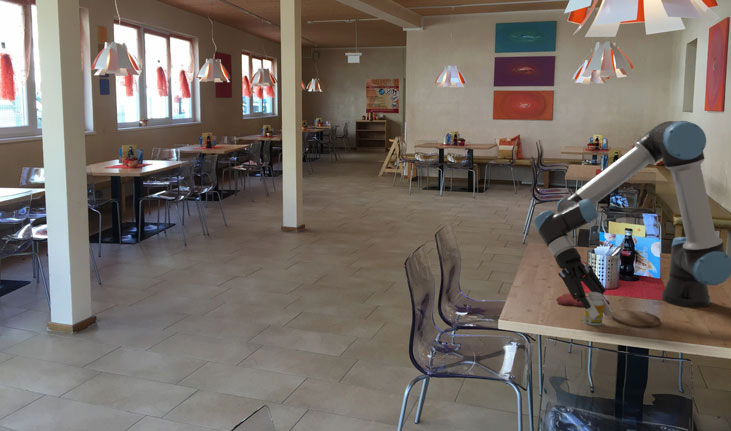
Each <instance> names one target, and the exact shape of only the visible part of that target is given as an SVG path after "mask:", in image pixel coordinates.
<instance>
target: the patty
mask: <svg viewBox="0 0 731 431" xmlns="http://www.w3.org/2000/svg"><path fill="white" fill-rule="evenodd" d="M586 297H588V295H586ZM606 300H607V302H608V305H610V301H609V300H608V299H606ZM556 302H557V304H558V305H559V306H563V307H573V308H584V306H583V304H582V302H581V301H580V302H578V301H577V299H576V300H574V299H573V297H572V295H571V294H570V293H564V294H562V295H560V296H558V297H557V298H556Z"/></svg>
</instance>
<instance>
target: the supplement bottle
mask: <svg viewBox="0 0 731 431" xmlns="http://www.w3.org/2000/svg"><path fill="white" fill-rule="evenodd" d="M587 296H589V298H590V300H591V301H592V303H593V305H594V306H595V308H596V309H597V311H598V313H599V314H600V315H599V316H597V317H596V318H595V319H592V318H591V316H590V314H589V313H588V311H587V309H585V308H584V313H583V314H584V315H583V323H585V325H588V326H595V327H596V326H601V325H602V324H603V315H604V313H603V306H604V303H603V301H602V300H601V299H602V294H601V293H598V292H591V291H590V292H588V295H587Z"/></svg>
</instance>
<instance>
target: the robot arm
mask: <svg viewBox="0 0 731 431" xmlns="http://www.w3.org/2000/svg"><path fill="white" fill-rule="evenodd" d="M706 145H707V136H706V134H705V132H704V130H703V129H702V128H701V127H700V125H698V124H696V123H694V122H690V121H687V120H678V121H677V120H676V121H672V120H669V121H664V122H661V123H659V124H657V125H656V126H654V127H653V128H652V129H651V130H649V131H648V132H647V133H645V134H644V135H643V136H642V137H640V138H639V139H638V140H636V141H635V142H634V147H632V148H631V149H629V151H627V152H626V153H624V154H623V155H622V156H621V157H619V158H618V159H617V160H615V161H614V162H612V163H611V164H610V165H608V166H607V167H606V168H605V169H603V170H602V171H601V172H600V173H598V174H597V175H596V176H594V177H593V178H592V179H590V180H589V181H588V182H586V183H585V184H584V185H582V186H580V187H579V189H577V190H575V192H574V193H572V194H570V195H569V196H567V197H564V198H561V199H560V200H559V201H558V202H557V204H556V212H557V213H555V212H554V211H553V210H551V209H550V210H549V209H547V210H544V211H541V212H540V213H539V214H538V215H536V216H535V217H534V220H533V224H534V226H535V228H536V230H537V232H538V234H539V235H540V238H541V239H542V240H543V243H544V244H545V245H546V247H547V248H548V250H549V251H550V253H551V255H552V256H553V258H554V259H555V262H556V263H557V265H558V267H559V268H560V269H562V270H560V272H558V276H559V277H560V279H561V280H562V282H563V283H564V285H565V286H566V288H567V290H568V291H569V294H571V295H572V297H573V299H574V300H576V299H577V301H578V302H580V301H581V302H582V304H583V306H584V307H583V308H584V310H585V309H587V311H588V313H589V314H590V316H591V318H592V319H595V318H596V317H597V316H599V315H600V314H599V313H598V311H597V309H596V308H595V306H594V305H593V303H592V301H591V300H590V298H589V296H588V295H586V292H585V289H584V286H583V284H584V285H585V286H586V287H587V288H588V290H589V291H590V292H598V293H601V294H602V299H601V300H602V301H603V303H604V306H603V315H604V316H605V317H608V316H610V315H612V313H613V312H614V311H613V310H612V308H611V307H610V304H608V302H607V300H608V299H606V297H605V296H604V293H605V292H606V291H607V290H606V288H605V286H604V285H603V283H602V282H601V281H600V279H599V277H598V275H597V274H596V273H595V271H594V269H593V266H592V265H591V264H589V265H587V266H584V264H583V263H584V262H583V263H582V260H581V259H582V255H581V254H580V253H579V251H578V250H577V248H576V247H575V245H574V242H573V241H572V240H571V238H570V237H569V235H568V234H569V233H570V232H573V231H575V230H578V229H579V228H581V227H583V226H585V225H587V224H590V223H591V222H593V221H595V220H596V219H597V218H598V216H599V213H598V210H597V208H596V206H595V205H596V204H597V203H599V202H600V201H601V200H602V199H604V198H605V197H607V196H608V195H609V194H610V193H612V192H613V191H615V190H617V188H619V187H620V186H621V185H623V184H624V183H625V182H626V181H628V180H630V179H631V178H632V177H633V176H635V175H637V173H639V172H640V171H641V170H643V169H644V168H645V167H647V166H648V165H654V164H656V163H657V162H659V161H660V160H663V164H664V168H666V169H667V170H669V171H670V172H671V177H672V182H673V186H674V191H675V194H676V198H677V199H676V200H677V203H678V207H679V212H680V217H681V222H682V226H683V230H684V235H685V236H678V237H677V236H676V237H674V238H673V239H672V243H671V247H670V248H671V251H670V252H671V253H670V266H669V275H668V276H669V278H668V280H667V283H666V285H665V288H664V289H663V290H662V292H661V293H662V294H661V299H662V300H663V301H664V302H666V303H668V304H672V305H676V306H679V307H689V308H705V307H704V306H706V307H708V305H709V304H711V297H710V294H709V288H708V286H719V285H720V284H723V283H725V282H726V281H727V280H728V279H729V278H730V277H731V257H730V255H728V254H727V253H726V250H725V247H724V241H723V238H720V237H719V236H717V235H716V230H715V226H714V222H713V218H712V212H711V207H710V203H709V199H708V193H707V189H706V188H707V187H706V185H705V184H706V183H705V181H704V179H705V178H704V175H703V171H702V164H703V162H704V161H705V154H704V150H705V148H706ZM582 283H583V284H582ZM586 296H588V297H586ZM709 306H710V305H709Z"/></svg>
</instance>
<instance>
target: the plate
mask: <svg viewBox="0 0 731 431" xmlns="http://www.w3.org/2000/svg"><path fill="white" fill-rule="evenodd" d="M611 319H612V320H613V321H614V322H616V323H618V324H622V325H625V326H628V327H632V328H633V327H634V328H644V329H645V328H647V329H648V328H656V327H658V326H660V325H661V324H660V323H661V319H660V317H658V316H657V315H655V314H652V313H649V312H646V311H640V310H633V309H621V310H620V309H619V310H615V311H613V312H612V313H611Z"/></svg>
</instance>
